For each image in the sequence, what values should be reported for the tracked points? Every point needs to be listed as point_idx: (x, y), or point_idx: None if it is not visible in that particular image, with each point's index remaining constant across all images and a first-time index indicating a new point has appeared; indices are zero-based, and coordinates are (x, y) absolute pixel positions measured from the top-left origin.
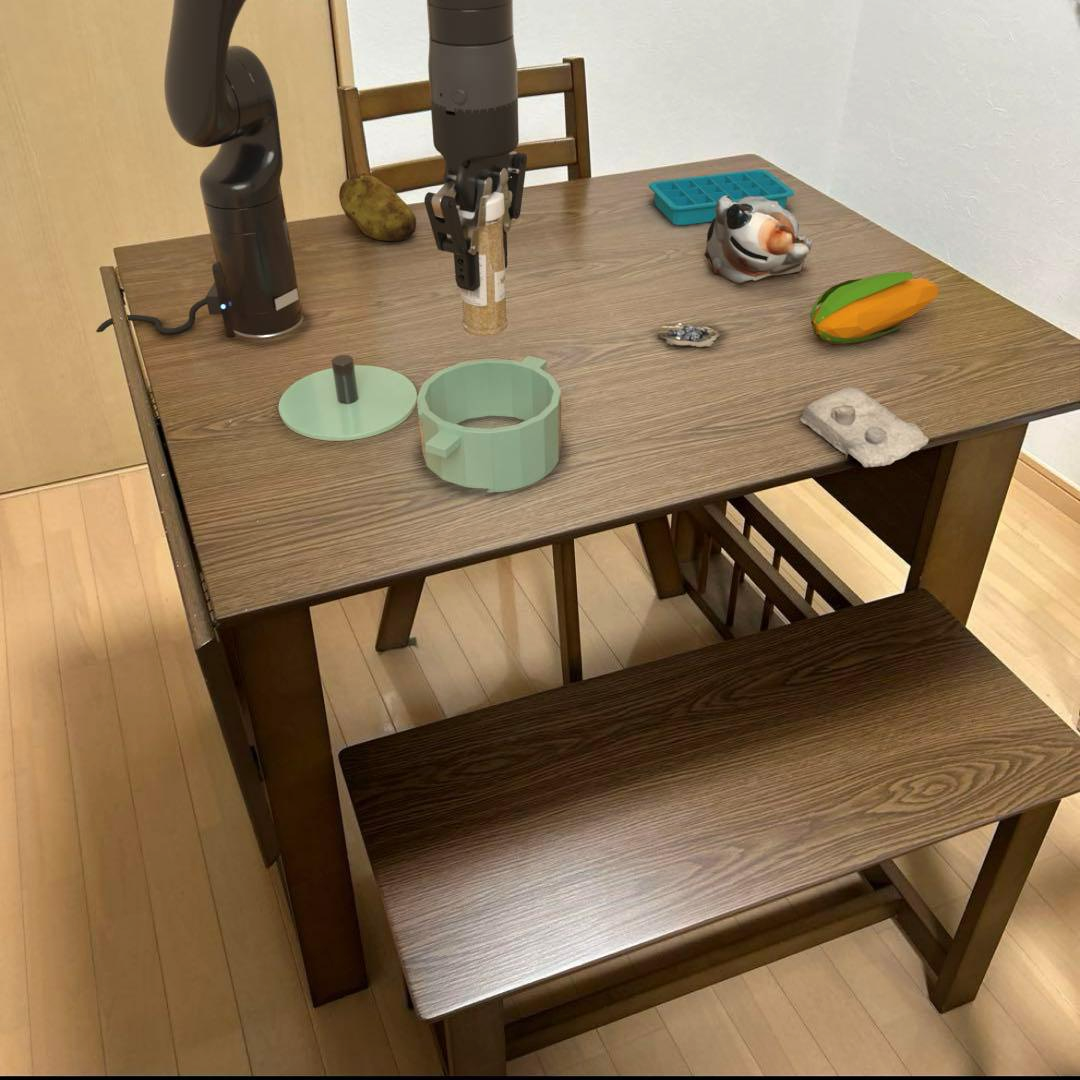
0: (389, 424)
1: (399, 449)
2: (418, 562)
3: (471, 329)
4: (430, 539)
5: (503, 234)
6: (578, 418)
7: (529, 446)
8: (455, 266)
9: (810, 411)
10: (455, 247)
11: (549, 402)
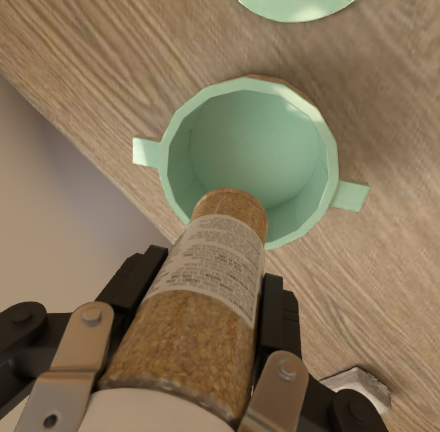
0: (254, 10)
1: (227, 44)
2: (84, 149)
3: (192, 215)
4: (112, 147)
5: (252, 385)
6: (336, 215)
7: None
8: (109, 283)
9: (352, 382)
10: (4, 365)
11: (286, 222)
